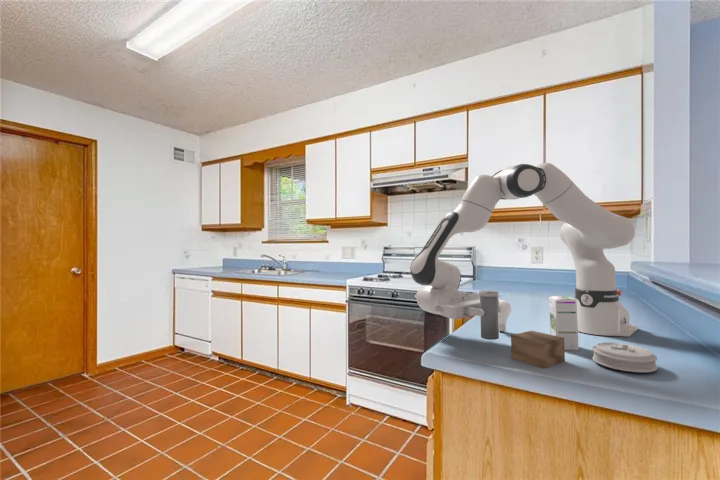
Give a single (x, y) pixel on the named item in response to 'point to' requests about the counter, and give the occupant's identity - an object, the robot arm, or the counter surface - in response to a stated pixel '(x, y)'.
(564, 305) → the syrup box
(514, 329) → the counter surface
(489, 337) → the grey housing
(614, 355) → the lid
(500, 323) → the lightbulb
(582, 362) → the counter surface
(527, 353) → the walnut stand
